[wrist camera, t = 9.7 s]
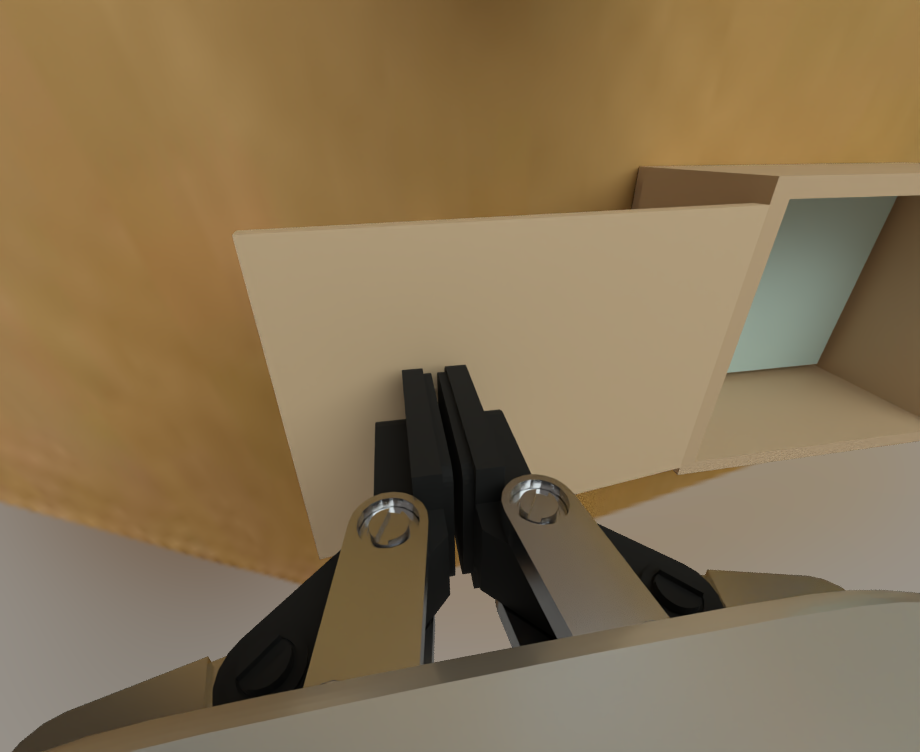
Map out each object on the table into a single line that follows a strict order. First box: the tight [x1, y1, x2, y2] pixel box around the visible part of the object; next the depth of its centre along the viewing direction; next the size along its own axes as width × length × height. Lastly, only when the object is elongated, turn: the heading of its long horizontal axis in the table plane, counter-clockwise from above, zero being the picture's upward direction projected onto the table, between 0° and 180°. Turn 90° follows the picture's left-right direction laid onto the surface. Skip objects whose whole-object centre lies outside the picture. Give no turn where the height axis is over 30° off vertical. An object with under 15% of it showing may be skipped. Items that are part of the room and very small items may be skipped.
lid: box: [232, 203, 770, 559], centre depth 12 cm, size 14×10×1 cm
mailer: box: [631, 163, 920, 475], centre depth 18 cm, size 14×11×7 cm
